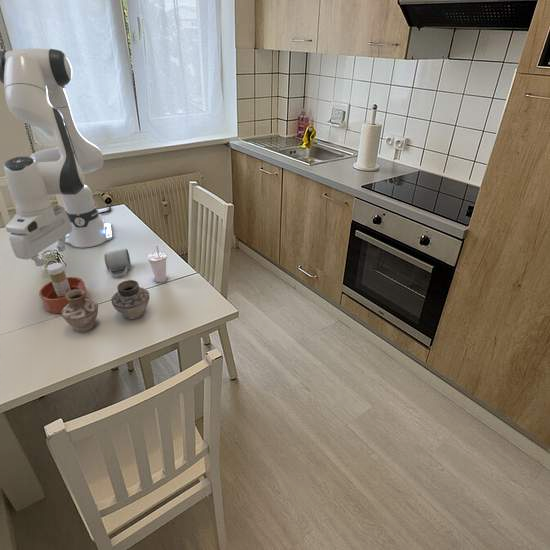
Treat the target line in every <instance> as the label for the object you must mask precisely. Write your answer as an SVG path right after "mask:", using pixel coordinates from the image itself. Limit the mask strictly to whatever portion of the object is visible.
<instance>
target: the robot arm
mask: <svg viewBox="0 0 550 550" xmlns="http://www.w3.org/2000/svg"><path fill="white" fill-rule="evenodd" d="M72 78H73V67H72V65H71V63H70V60H69V59H68V56H67V55H66V53H64V52H63V51H62V50H59V49H54V48H49V49H48V48H47V49H46V48H33V47H32V48H31V47H30V48H28V47H27V48H23V49H22V48H21V49H13V50H6V49H5V50H0V83H2V84H3V89H4V97H5V101H6V102H5V103H6V106H7V109H8V110H9V112H10V113H11V114H12V115H13V116H14V117H15V119H17V120H19V121H20V122H23V123H25V124H27V125H29V126H32V127H36V128H40V129H41V130H42V132H43V133H44V134H46V135H47V136H49V137H52V138H54V140H55V143H56V147H50V148H44V149H41V150H38V151H36V152H33V153H31V155H30V156H15V157H12V158H10V159H8V160H6V161H5V162H4V164H3V170H4V176H5V180H6V184H7V187H8V191H9V193H10V195H11V197H12V199H13V200H14V202H15V210H16V213H15V215H14V216H13V217H12V218H11V219H10V221H8V223H7V224H6V225H5V231H6V232H7V233H10V234H9V244H10V246H11V249H12V252H13V254H14V256H15V257H16V258H18V259H20V260H30V259H31V260H32V261H34V264H35V266H36V267H42V266H44V265H45V261H44V260H45V259H43V258H39V256H40V255H39V253H41V252H43V251H44V250H46V249H47V248H48V247H49V248H50V246H52V245H54V244H55V243H57V245H56V249H57V251H58V252H64V251H66V250H67V249H66V244H69V245H71V246H73V247H76V248H81V249H83V248H91V247H95V246H99V245H101V244H103V243H105V242H107V241H110V240H112V239H113V238H114V236H113V230H112V225H111V223H109V222H105V217H104V215H102V214H106V213H109V212H111V211H112V206H111V204H110V203H108V204H107V207H108V208H109V209H107V210H103V211H100V212H99V209H98V207H97V205H98V204H97V202H95V200H94V196H93V192H92V190H91V188H90V187H89V186H88V185H86V180H85V175H86V174H89V173H92V172H95V171H97V170H100V169H101V168H102V167H103V165H104V155H103V152H102V151H101V149H100V148H99V147H98V146H97V145H95V144H94V143H92V142H90V141H88V139H86V138H85V137H83V135H82V134H81V133H80V131H79V130H78V128H77V125H76V123H75V120H74V118H73V113H72V109H71V106H70V103H69V99H68V96H67V94H66V90H65V88H66V86H68V85H69V84H70V83H71V81H72ZM84 174H85V175H84ZM57 195H59V196H60V199H61V201H62V202H63V206H62V205H60V204H57V205H55V206H54V207H53V204H52V202H51V200H50V199H49V197H48V196H57ZM66 236H67V237H66Z"/></svg>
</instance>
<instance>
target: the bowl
mask: <svg viewBox="0 0 550 550" xmlns="http://www.w3.org/2000/svg"><path fill="white" fill-rule="evenodd" d="M66 277H67V280H68V283H69V286H70V289H71V290H75V289H82V290H83V291H84V292H85V293H84V296H85V299H89V294H88V290H87V287H86V283H85V281H84V280H83V279H82V278H79V277H76V276H66ZM38 295H39V298H40V300H41V303H42V306H43V308H44V309H45V311H46V312H49V313H54V314H60V313H61V314H62V310H63V308H64V307H65V306H66V305H67V304H69V301H68V300H67V298H66V297H64V298H60V299H58V297H57V294H56V292H55V289H54V286H53V284H52V280H51V281H49V282H47V283H46V284H44V285H42V286H41V288H40V289H39V293H38Z"/></svg>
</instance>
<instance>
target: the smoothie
mask: <svg viewBox="0 0 550 550" xmlns="http://www.w3.org/2000/svg"><path fill="white" fill-rule="evenodd" d="M155 249H156V251H155V252H152V253H150V254H149V255H148V256H147V261H148V262H149V265H150V267H151V270H152V273H153V276H154V279H155V282H156V283H164V282H165V281H167V259H168V255H167V253H166V252H163V251H159V246H158V244H155Z"/></svg>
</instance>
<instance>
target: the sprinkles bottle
mask: <svg viewBox="0 0 550 550" xmlns="http://www.w3.org/2000/svg"><path fill="white" fill-rule="evenodd" d="M46 271H47V273H48V275H49V277H50V280H51V281H52V284H53V286H54V289H55V292H56V294H57V297H58V299H60V298H64V297H65V295H66V293H68V292H69V291H71V289H70V286H69V283H68V280H67V277H68V276H67V274H66V272H65V267H64V264H63V263H61V262H53V263H50V264H49V265H47V266H46Z"/></svg>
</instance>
